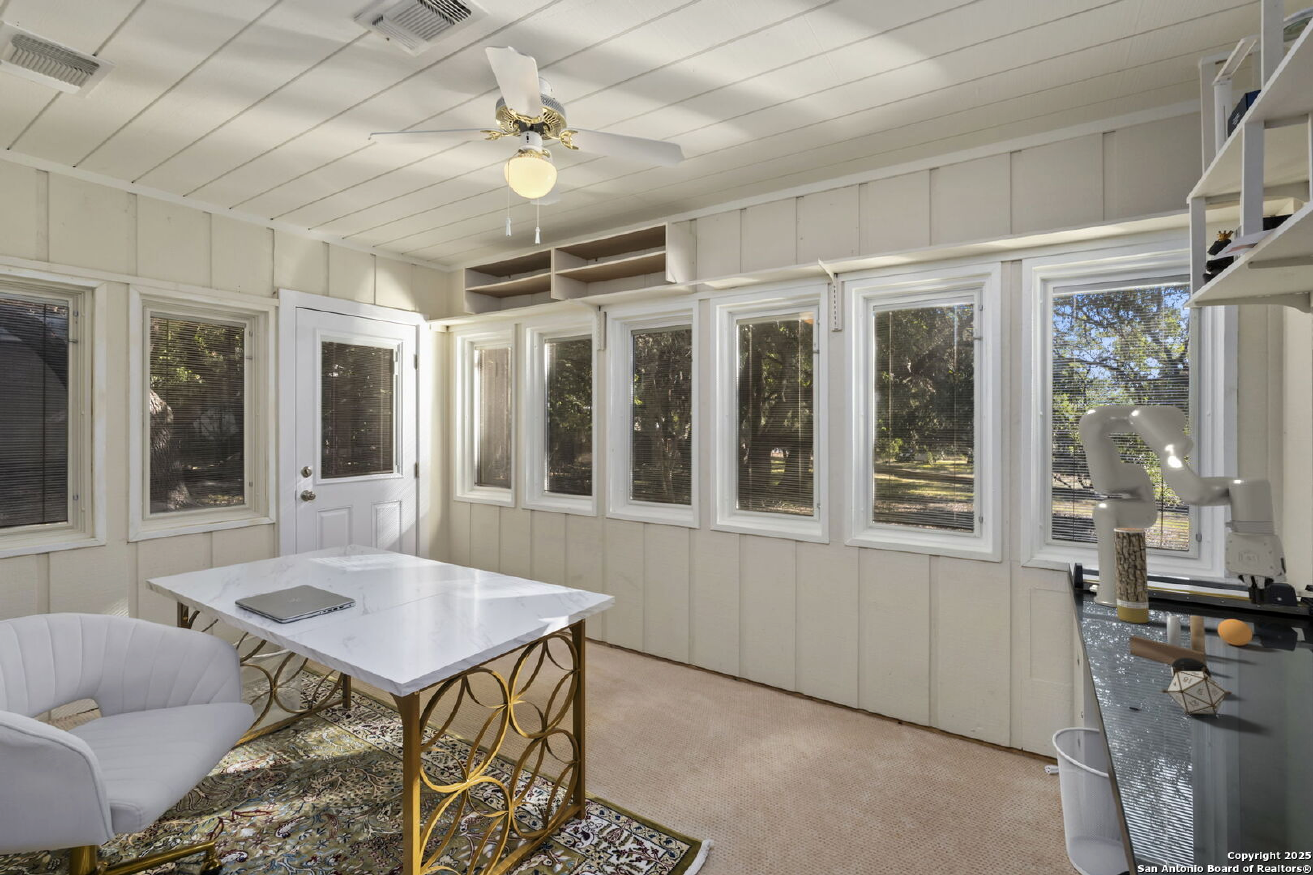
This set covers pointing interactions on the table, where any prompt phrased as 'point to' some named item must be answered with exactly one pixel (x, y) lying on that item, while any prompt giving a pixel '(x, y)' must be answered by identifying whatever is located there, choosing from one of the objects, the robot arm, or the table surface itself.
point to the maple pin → (1197, 633)
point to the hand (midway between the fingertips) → (1258, 603)
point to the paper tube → (1131, 575)
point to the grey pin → (1173, 630)
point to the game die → (1196, 692)
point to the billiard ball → (1189, 666)
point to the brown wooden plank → (1162, 651)
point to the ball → (1235, 632)
